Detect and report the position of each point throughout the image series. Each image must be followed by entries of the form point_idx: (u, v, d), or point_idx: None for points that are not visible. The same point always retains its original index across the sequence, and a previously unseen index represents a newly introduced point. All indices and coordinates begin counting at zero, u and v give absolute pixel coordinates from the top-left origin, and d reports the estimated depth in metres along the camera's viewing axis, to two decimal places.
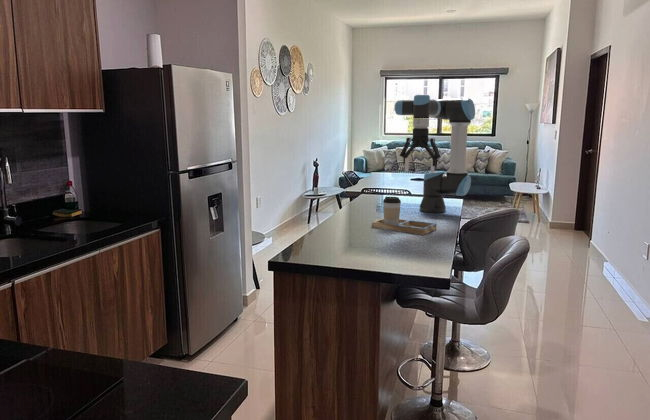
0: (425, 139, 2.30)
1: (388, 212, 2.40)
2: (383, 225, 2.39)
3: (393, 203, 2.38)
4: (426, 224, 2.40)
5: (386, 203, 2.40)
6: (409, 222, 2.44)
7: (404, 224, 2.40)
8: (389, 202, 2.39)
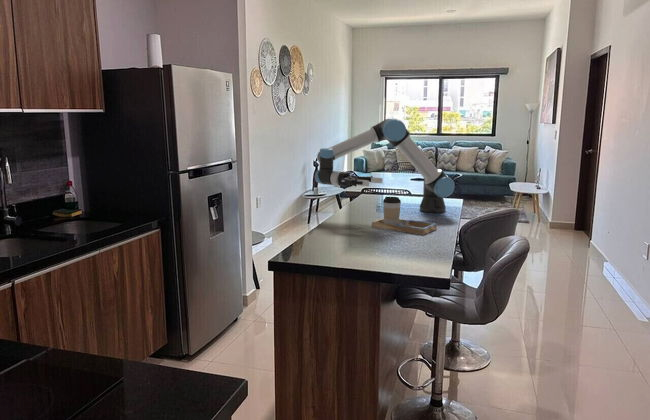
0: None
1: (388, 212, 2.40)
2: (383, 225, 2.39)
3: (393, 203, 2.38)
4: (426, 224, 2.40)
5: (386, 203, 2.40)
6: (409, 222, 2.44)
7: (404, 224, 2.40)
8: (389, 202, 2.39)
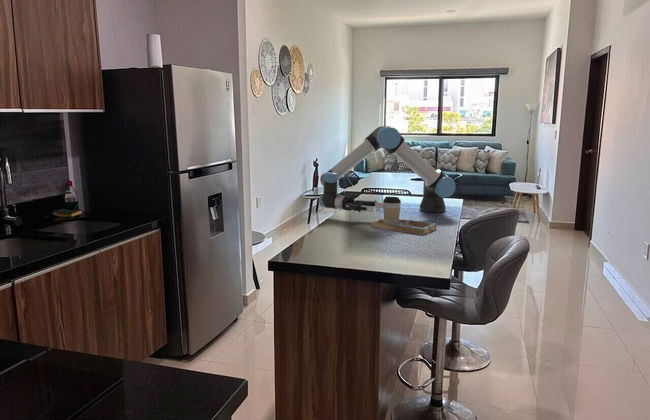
0: None
1: (388, 212, 2.40)
2: (383, 225, 2.39)
3: (393, 203, 2.38)
4: (426, 224, 2.40)
5: (386, 203, 2.40)
6: (409, 222, 2.44)
7: (404, 224, 2.40)
8: (389, 202, 2.39)
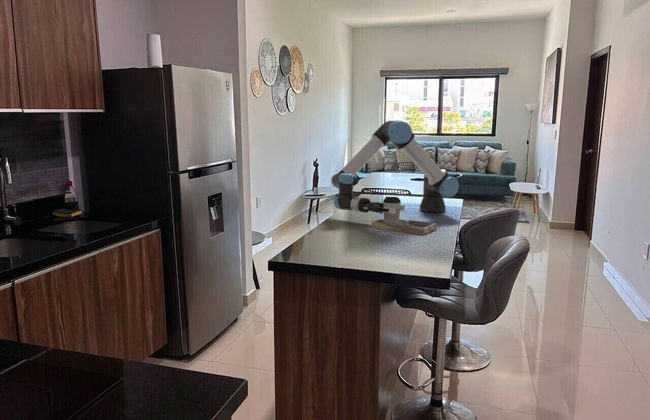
0: None
1: None
2: (383, 225, 2.39)
3: (393, 203, 2.38)
4: (426, 224, 2.40)
5: (386, 203, 2.40)
6: (409, 222, 2.44)
7: (404, 224, 2.40)
8: (389, 202, 2.39)
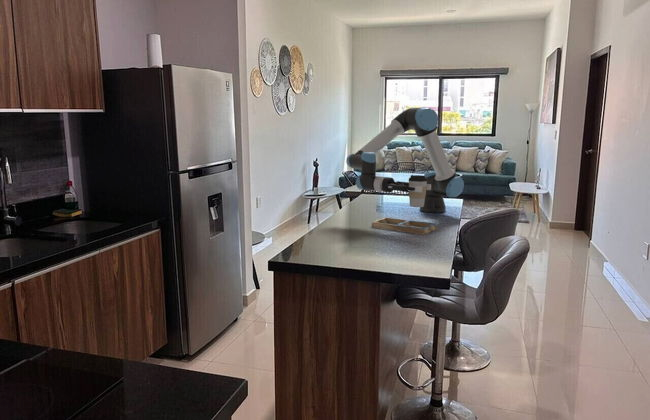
0: None
1: None
2: (383, 225, 2.39)
3: (420, 181, 2.28)
4: (426, 224, 2.40)
5: (412, 181, 2.30)
6: (409, 222, 2.44)
7: (404, 224, 2.40)
8: (415, 180, 2.29)
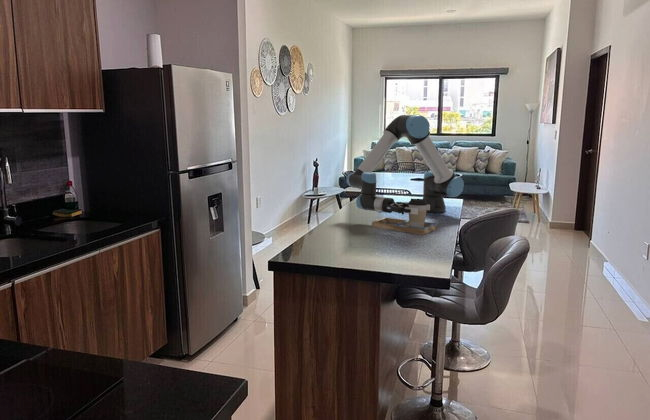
0: None
1: (414, 214, 2.32)
2: (383, 225, 2.39)
3: (420, 205, 2.30)
4: (426, 224, 2.40)
5: (412, 205, 2.32)
6: None
7: (404, 224, 2.40)
8: (415, 204, 2.31)
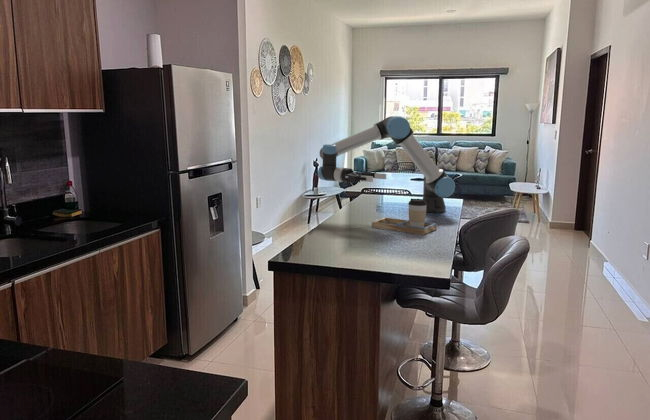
0: None
1: (414, 214, 2.32)
2: (383, 225, 2.39)
3: (419, 205, 2.30)
4: (426, 224, 2.40)
5: (412, 205, 2.32)
6: None
7: (404, 224, 2.40)
8: (415, 204, 2.31)
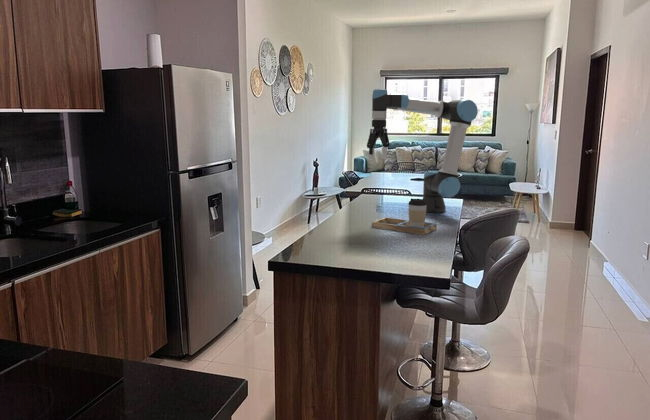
0: None
1: (414, 214, 2.32)
2: (383, 225, 2.39)
3: (419, 205, 2.30)
4: (426, 224, 2.40)
5: (412, 205, 2.32)
6: None
7: (404, 224, 2.40)
8: (415, 204, 2.31)
